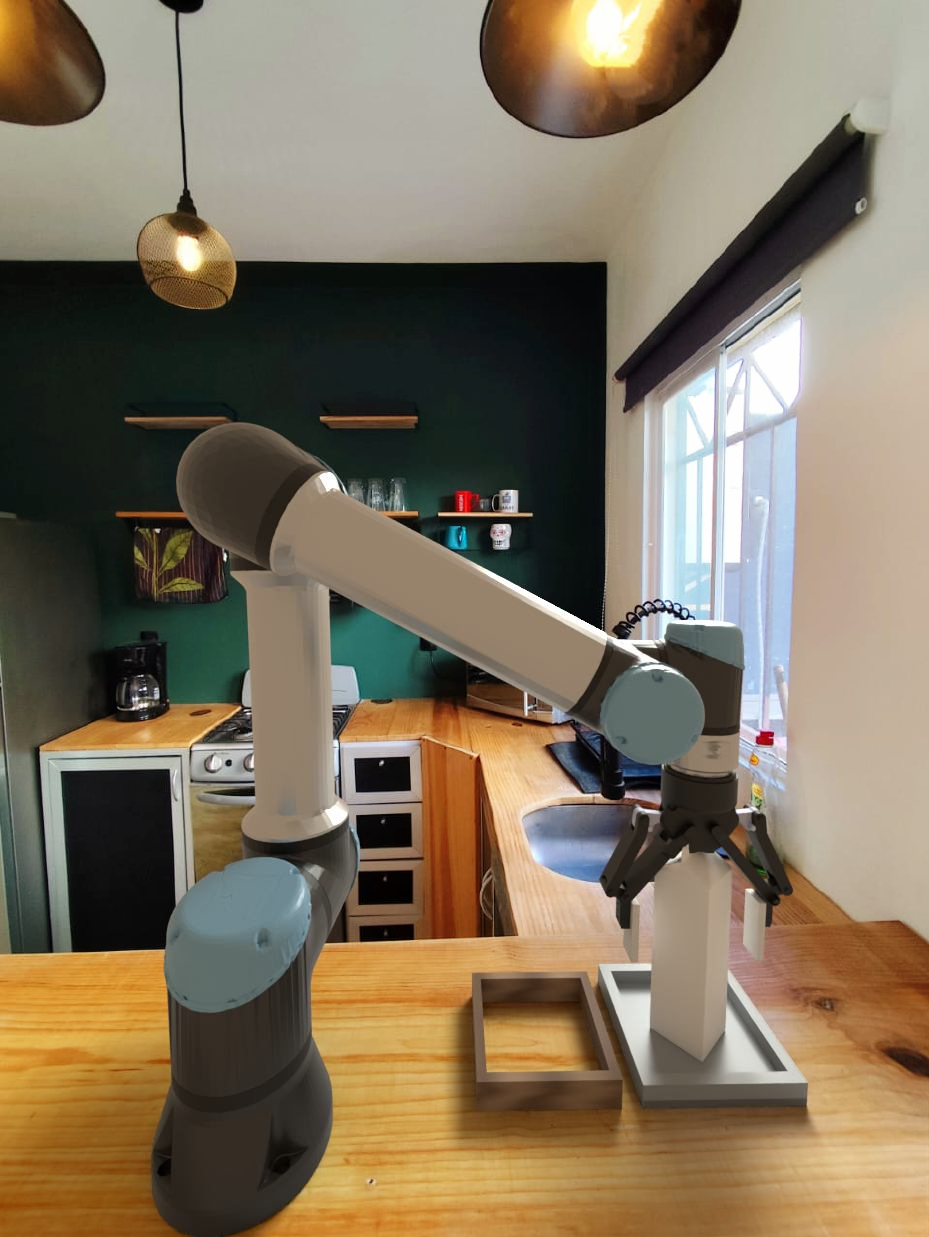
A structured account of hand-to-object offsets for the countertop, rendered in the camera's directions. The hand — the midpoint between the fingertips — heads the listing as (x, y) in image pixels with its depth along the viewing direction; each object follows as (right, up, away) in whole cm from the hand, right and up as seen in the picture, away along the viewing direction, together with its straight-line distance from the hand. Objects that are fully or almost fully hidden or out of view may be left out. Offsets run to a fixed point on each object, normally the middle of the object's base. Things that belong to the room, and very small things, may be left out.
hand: (691, 953), depth 59 cm
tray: (0, -10, +1) cm, 10 cm away
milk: (0, -9, +1) cm, 9 cm away
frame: (-17, -10, -1) cm, 20 cm away
